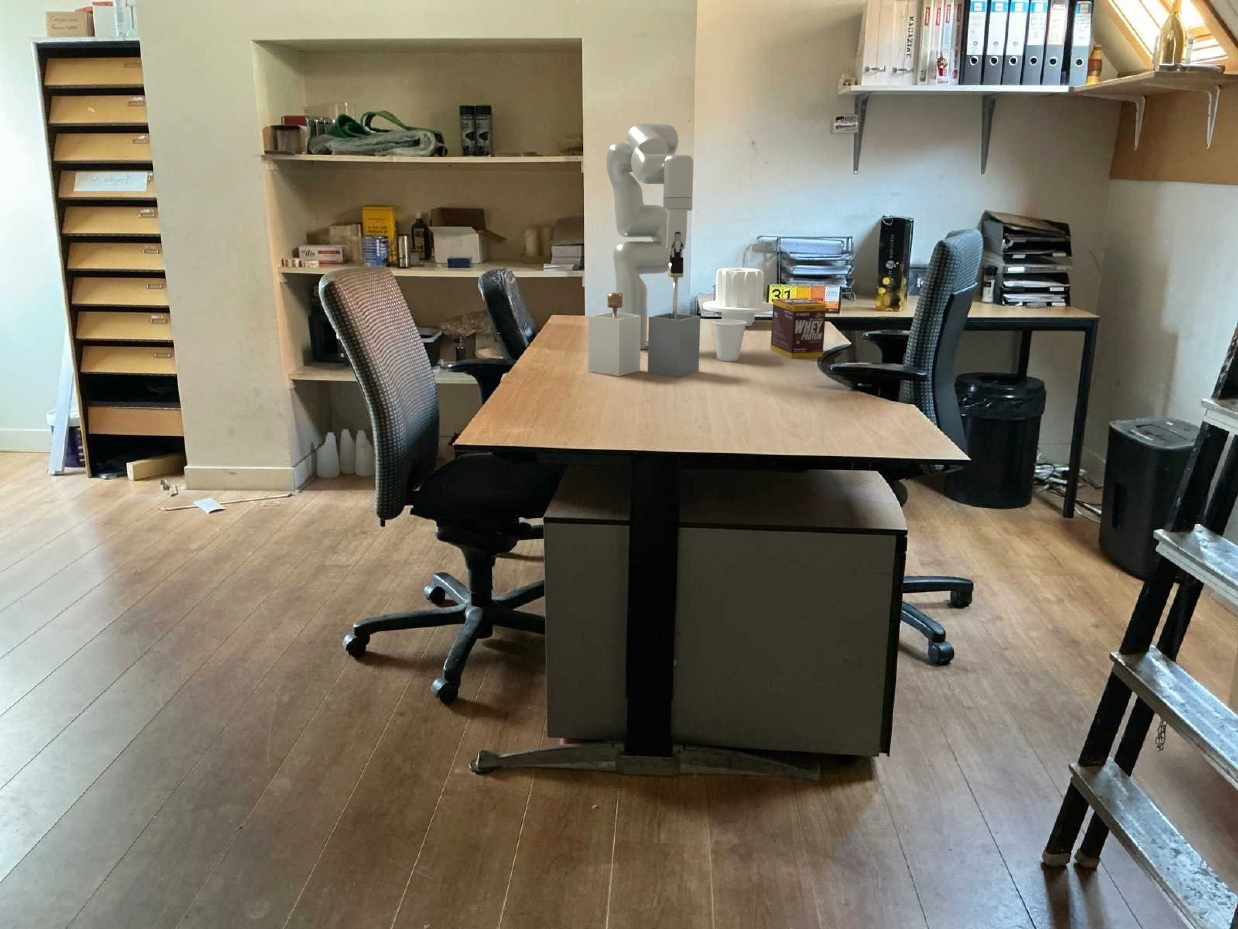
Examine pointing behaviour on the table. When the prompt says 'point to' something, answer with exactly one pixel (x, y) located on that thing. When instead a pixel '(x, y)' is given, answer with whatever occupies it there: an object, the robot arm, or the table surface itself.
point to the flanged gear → (739, 294)
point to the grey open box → (673, 344)
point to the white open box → (614, 343)
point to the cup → (728, 338)
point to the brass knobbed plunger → (674, 289)
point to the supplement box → (798, 327)
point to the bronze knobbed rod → (615, 302)
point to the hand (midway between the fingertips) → (676, 271)
